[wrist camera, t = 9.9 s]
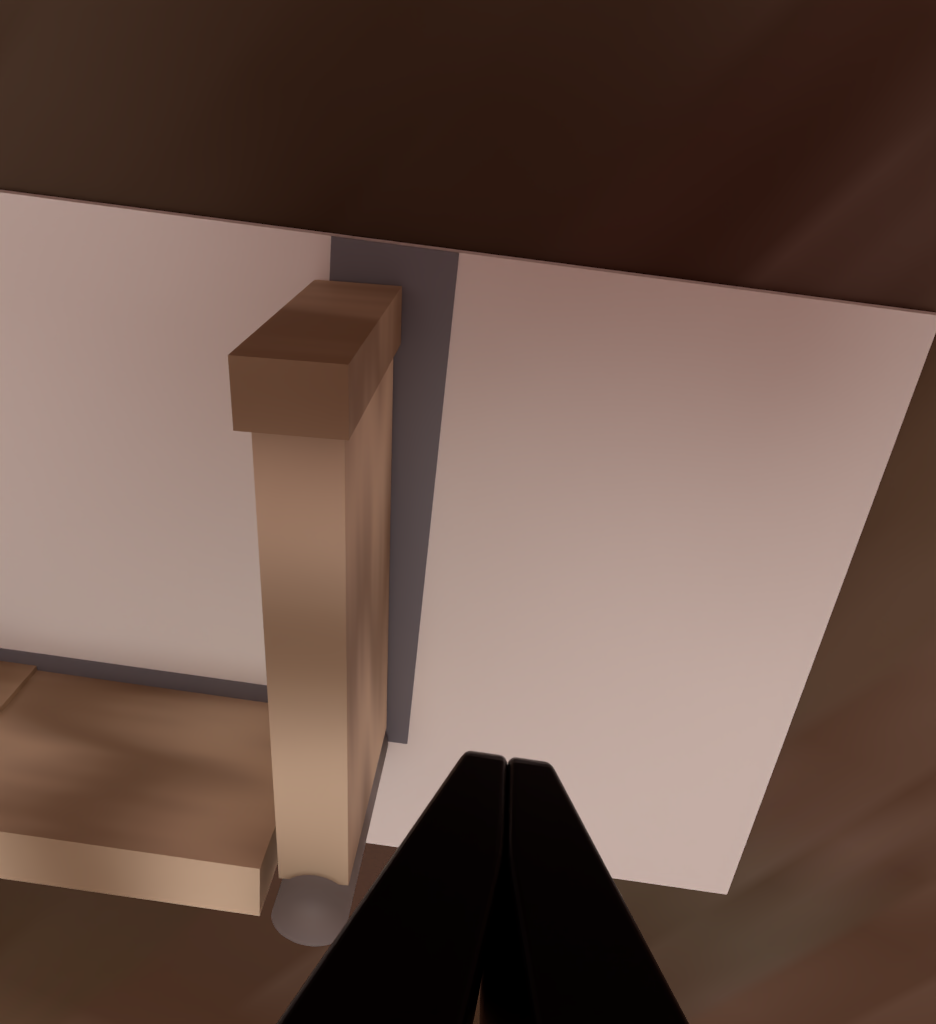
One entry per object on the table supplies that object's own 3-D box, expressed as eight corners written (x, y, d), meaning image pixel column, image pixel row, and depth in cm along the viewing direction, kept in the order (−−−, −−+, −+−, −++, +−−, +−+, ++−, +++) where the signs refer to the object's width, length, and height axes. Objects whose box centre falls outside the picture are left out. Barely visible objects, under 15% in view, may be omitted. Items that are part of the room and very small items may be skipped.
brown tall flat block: (391, 767, 23) (350, 950, 18) (325, 760, 23) (268, 941, 18) (402, 286, 17) (347, 366, 12) (314, 279, 17) (225, 357, 12)
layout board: (-11, 780, 25) (-18, 788, 25) (-130, 172, 18) (-141, 174, 17) (724, 885, 25) (727, 895, 25) (935, 312, 17) (942, 316, 17)
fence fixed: (8, 703, 24) (-159, 898, 18) (-1, 652, 23) (-178, 839, 17) (317, 747, 24) (247, 957, 18) (320, 697, 23) (246, 900, 17)
